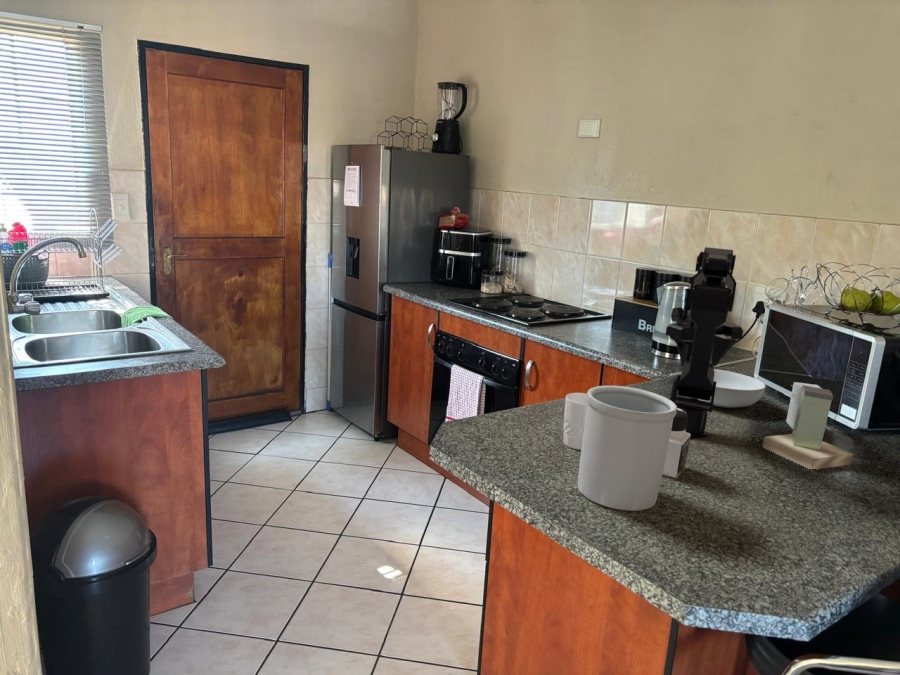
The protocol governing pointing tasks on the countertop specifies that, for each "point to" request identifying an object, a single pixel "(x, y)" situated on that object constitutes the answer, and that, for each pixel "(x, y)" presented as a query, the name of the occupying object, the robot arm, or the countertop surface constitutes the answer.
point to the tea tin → (811, 417)
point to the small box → (795, 402)
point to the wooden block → (807, 453)
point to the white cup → (574, 419)
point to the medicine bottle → (677, 446)
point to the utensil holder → (624, 446)
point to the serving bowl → (736, 389)
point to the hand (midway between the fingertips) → (698, 366)
